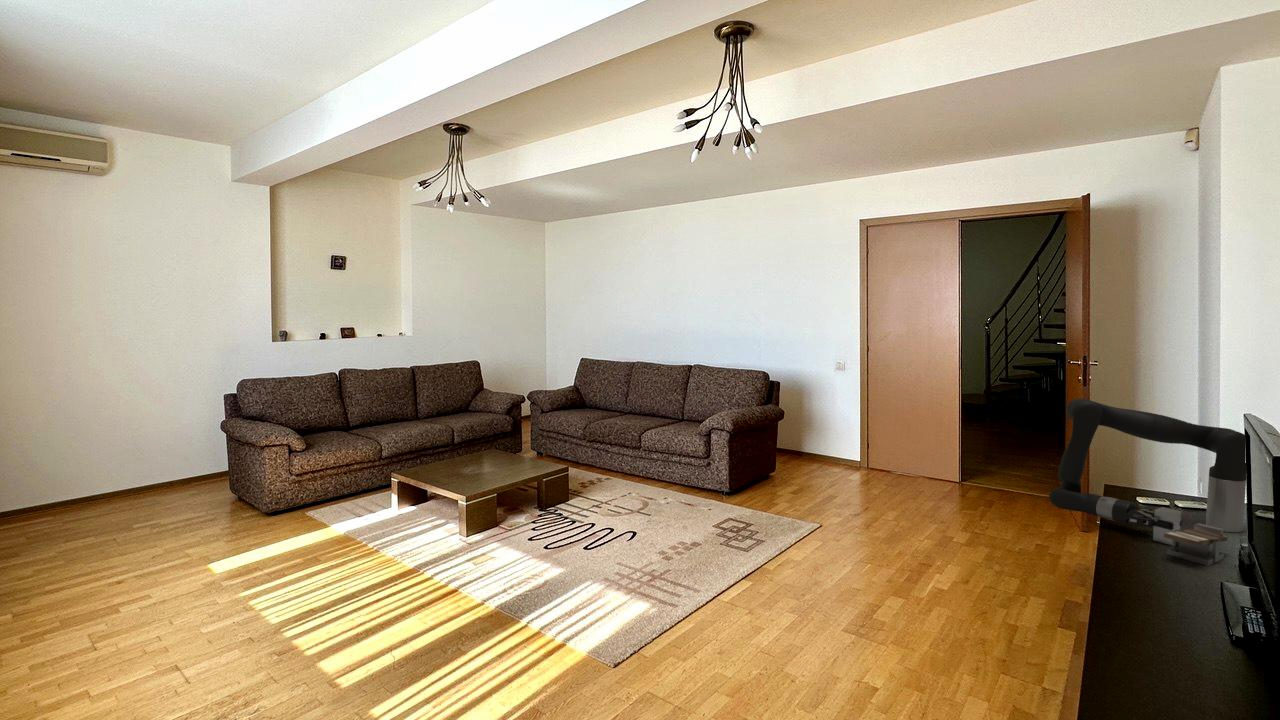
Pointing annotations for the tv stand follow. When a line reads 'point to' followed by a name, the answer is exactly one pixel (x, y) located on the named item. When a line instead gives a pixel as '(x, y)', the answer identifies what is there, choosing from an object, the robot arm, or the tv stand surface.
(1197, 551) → the pivot stand
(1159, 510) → the weight block
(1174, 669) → the tv stand surface
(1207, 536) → the balance beam
